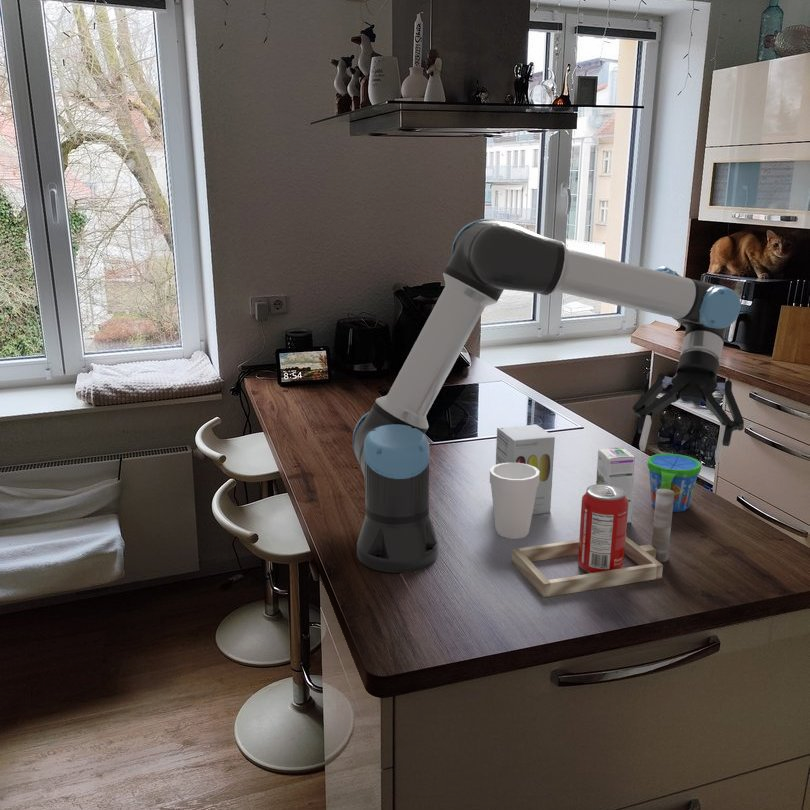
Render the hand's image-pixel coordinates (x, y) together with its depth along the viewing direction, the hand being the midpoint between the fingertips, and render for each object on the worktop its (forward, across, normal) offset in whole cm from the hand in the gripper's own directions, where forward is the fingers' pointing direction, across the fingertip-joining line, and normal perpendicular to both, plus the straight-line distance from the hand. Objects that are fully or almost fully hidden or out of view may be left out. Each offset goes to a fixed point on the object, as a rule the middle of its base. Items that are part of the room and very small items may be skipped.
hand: (678, 453), depth 144 cm
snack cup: (+2, +3, -23) cm, 23 cm away
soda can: (+26, +8, +1) cm, 27 cm away
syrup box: (+10, +12, -14) cm, 21 cm away
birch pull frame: (+26, +9, +2) cm, 27 cm away
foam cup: (+21, +28, -3) cm, 35 cm away
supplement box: (+12, +30, -12) cm, 35 cm away
